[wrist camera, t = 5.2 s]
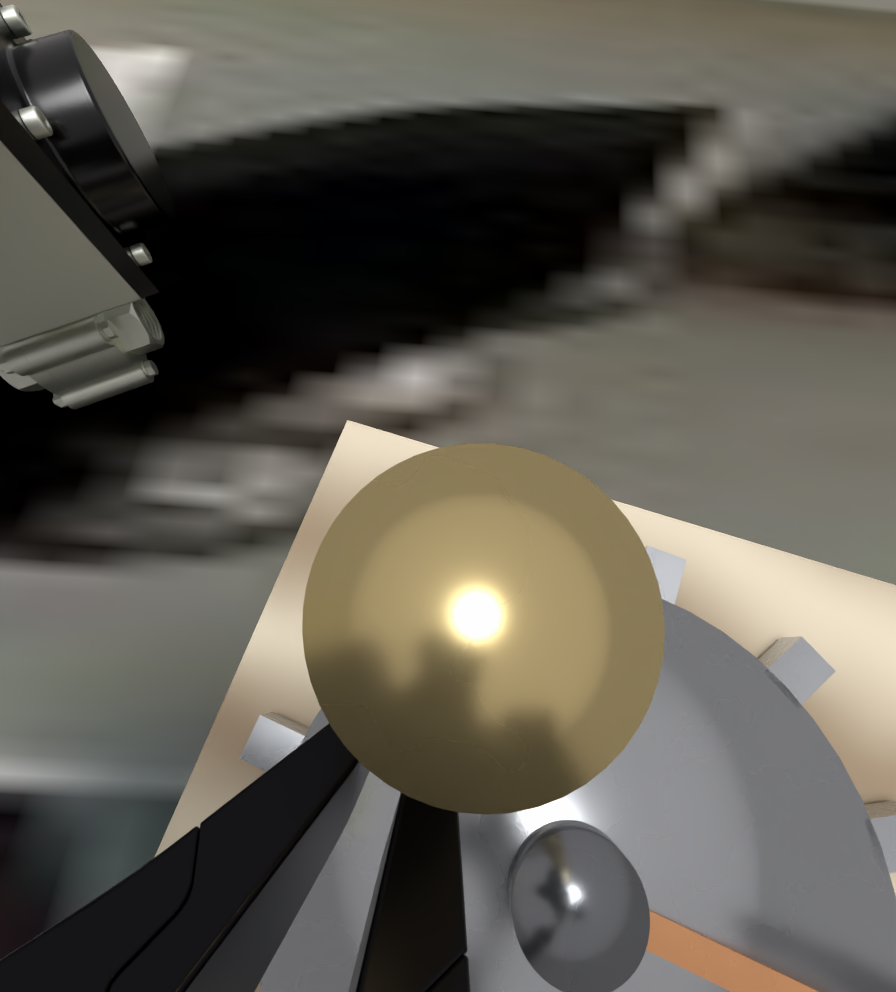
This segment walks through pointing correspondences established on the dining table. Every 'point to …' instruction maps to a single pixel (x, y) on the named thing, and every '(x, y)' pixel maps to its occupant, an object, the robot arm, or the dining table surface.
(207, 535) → the dining table surface
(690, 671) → the sprocket
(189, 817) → the sprocket base
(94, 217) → the pneumatic valve
